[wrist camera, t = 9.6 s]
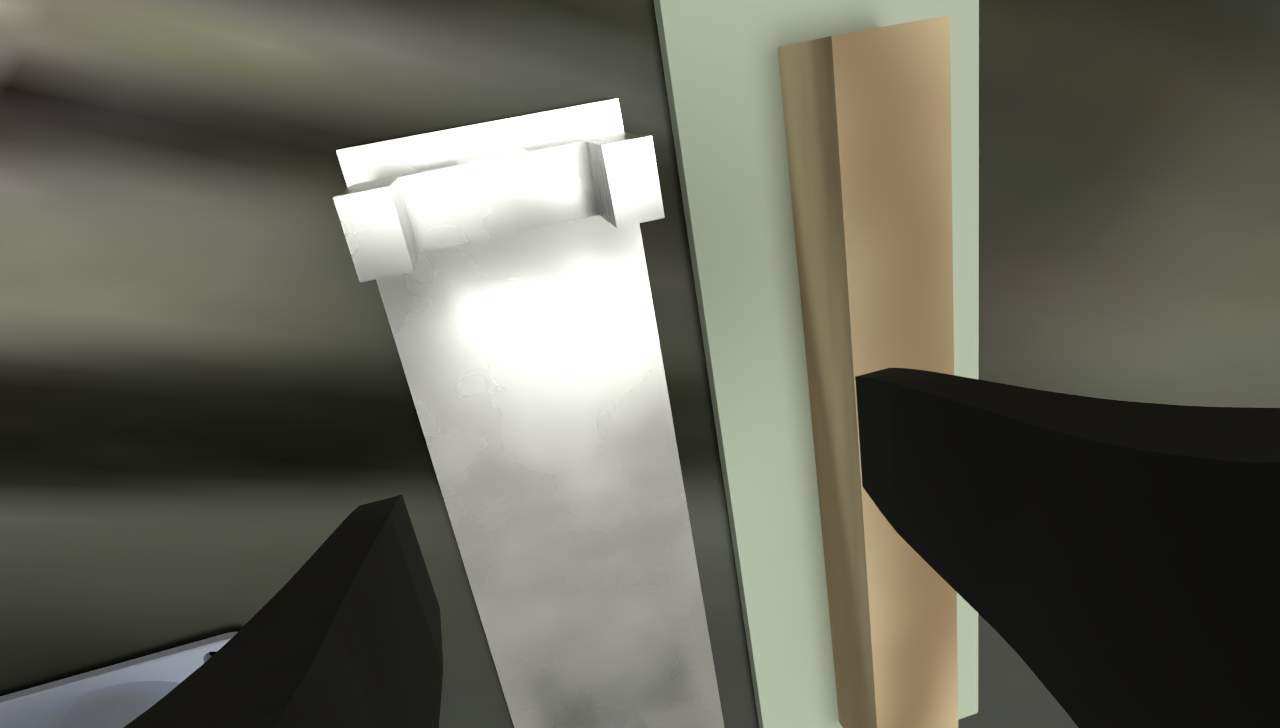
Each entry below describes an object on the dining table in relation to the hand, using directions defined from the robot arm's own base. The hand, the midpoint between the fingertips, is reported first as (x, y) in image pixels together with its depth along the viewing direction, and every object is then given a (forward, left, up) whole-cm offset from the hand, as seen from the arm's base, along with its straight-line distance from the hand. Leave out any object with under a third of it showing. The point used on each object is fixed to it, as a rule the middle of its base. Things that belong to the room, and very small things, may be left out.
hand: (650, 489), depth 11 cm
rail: (+9, -6, -10) cm, 14 cm away
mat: (+9, -6, -10) cm, 15 cm away
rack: (-1, -6, -10) cm, 12 cm away
